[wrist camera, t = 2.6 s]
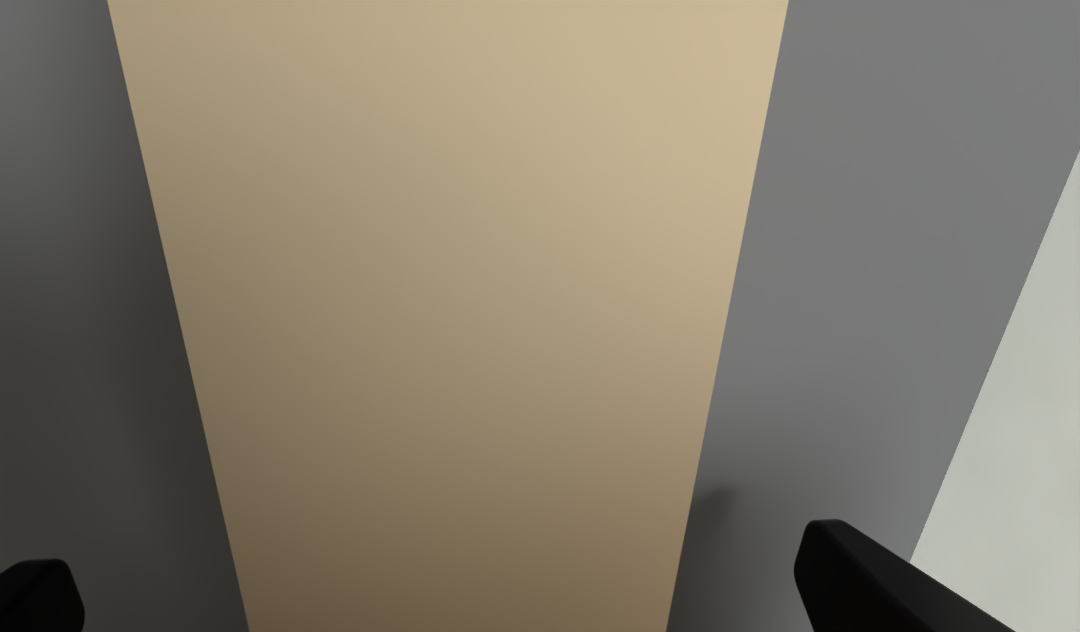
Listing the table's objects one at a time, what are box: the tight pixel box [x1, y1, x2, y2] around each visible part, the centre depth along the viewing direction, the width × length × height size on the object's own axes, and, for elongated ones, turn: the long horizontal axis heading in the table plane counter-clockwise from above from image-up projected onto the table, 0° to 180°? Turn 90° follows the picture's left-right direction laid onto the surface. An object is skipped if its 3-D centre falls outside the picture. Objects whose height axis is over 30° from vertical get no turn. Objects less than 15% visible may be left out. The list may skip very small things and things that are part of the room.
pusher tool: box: [107, 0, 789, 632], centre depth 6 cm, size 13×12×4 cm
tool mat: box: [0, 0, 1080, 632], centre depth 8 cm, size 16×15×1 cm
